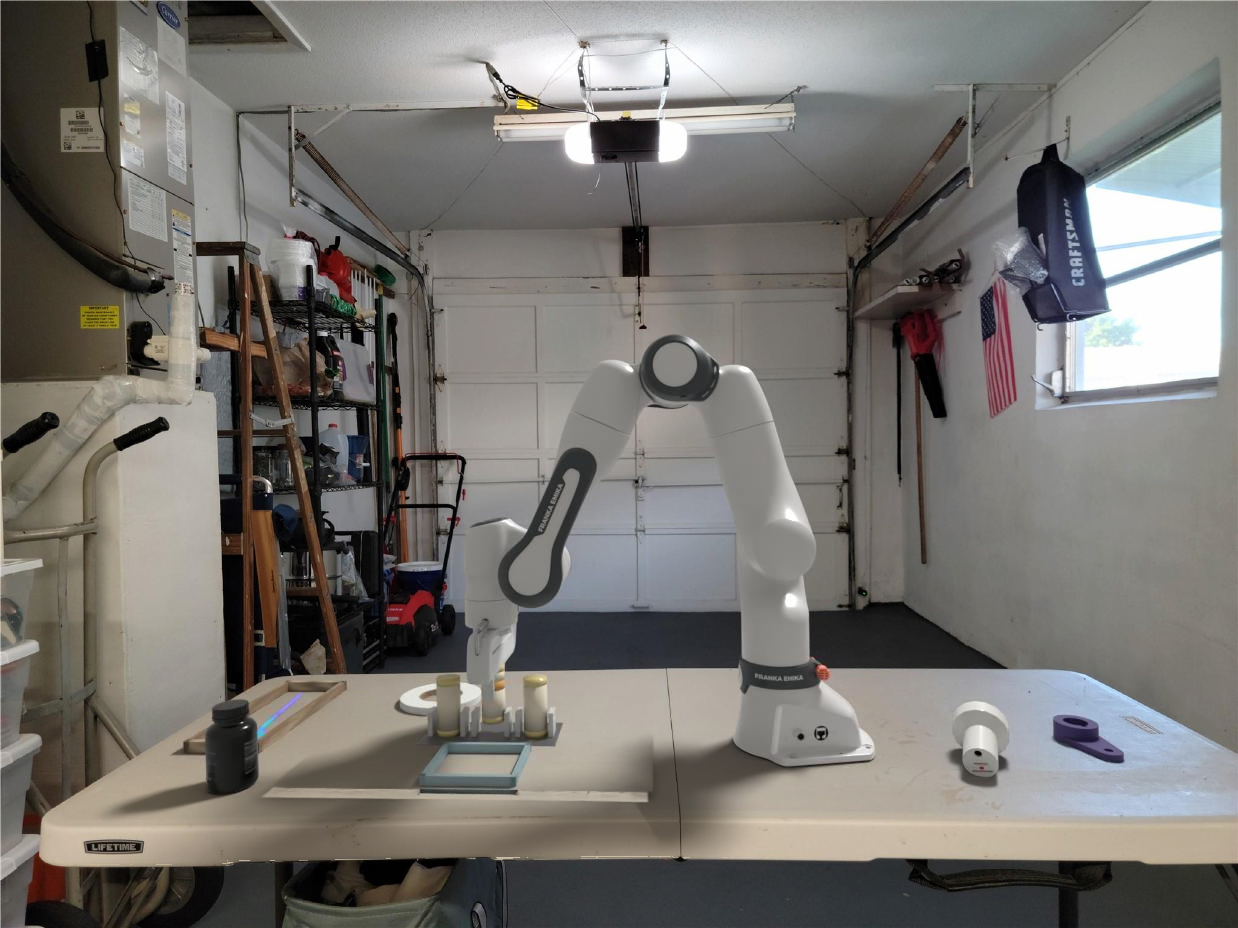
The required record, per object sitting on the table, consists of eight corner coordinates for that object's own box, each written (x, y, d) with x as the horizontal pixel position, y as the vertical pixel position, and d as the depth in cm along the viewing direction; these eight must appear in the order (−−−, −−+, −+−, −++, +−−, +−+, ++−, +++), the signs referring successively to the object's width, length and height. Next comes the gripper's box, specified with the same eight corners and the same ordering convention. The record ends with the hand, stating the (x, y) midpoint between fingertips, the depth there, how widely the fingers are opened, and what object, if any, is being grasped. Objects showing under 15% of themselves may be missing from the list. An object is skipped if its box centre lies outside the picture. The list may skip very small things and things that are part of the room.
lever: (1044, 733, 117) (1044, 715, 117) (1079, 732, 118) (1079, 713, 118) (1099, 764, 105) (1099, 743, 105) (1137, 762, 106) (1137, 741, 106)
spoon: (257, 746, 117) (257, 739, 117) (232, 747, 117) (232, 740, 117) (314, 696, 142) (314, 691, 142) (294, 697, 142) (294, 691, 142)
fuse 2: (549, 728, 119) (548, 674, 119) (545, 738, 115) (544, 681, 115) (526, 728, 119) (525, 673, 119) (521, 737, 115) (521, 681, 115)
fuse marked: (508, 715, 119) (506, 660, 119) (503, 724, 115) (501, 667, 115) (485, 715, 119) (484, 661, 119) (479, 724, 115) (478, 667, 115)
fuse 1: (463, 728, 119) (463, 673, 119) (457, 737, 115) (456, 681, 115) (441, 728, 120) (440, 673, 120) (433, 737, 116) (433, 681, 116)
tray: (531, 758, 110) (531, 742, 110) (516, 794, 98) (515, 776, 98) (445, 757, 110) (445, 741, 110) (419, 793, 98) (419, 775, 98)
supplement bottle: (247, 770, 107) (246, 693, 107) (266, 782, 103) (265, 702, 103) (198, 786, 102) (197, 705, 102) (216, 800, 97) (215, 715, 97)
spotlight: (1014, 745, 109) (1002, 698, 108) (1017, 789, 99) (1005, 738, 98) (958, 745, 113) (947, 699, 112) (956, 787, 103) (944, 738, 102)
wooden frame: (346, 689, 145) (346, 680, 145) (259, 753, 113) (259, 742, 113) (287, 688, 146) (286, 680, 146) (183, 752, 114) (183, 741, 114)
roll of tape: (404, 698, 140) (404, 684, 140) (481, 692, 143) (481, 678, 143) (395, 726, 125) (394, 710, 125) (481, 719, 128) (480, 704, 128)
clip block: (563, 729, 122) (562, 699, 121) (554, 753, 112) (554, 721, 112) (435, 728, 123) (435, 699, 123) (416, 751, 113) (415, 720, 113)
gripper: (495, 627, 107) (497, 716, 107) (521, 601, 127) (523, 675, 127) (455, 628, 107) (457, 716, 107) (487, 601, 127) (489, 675, 127)
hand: (493, 694), depth 117 cm, fingers closed on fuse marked, 4 cm apart
